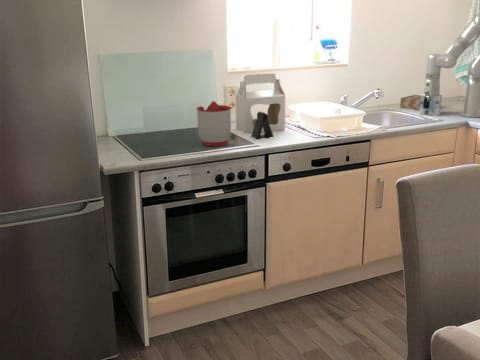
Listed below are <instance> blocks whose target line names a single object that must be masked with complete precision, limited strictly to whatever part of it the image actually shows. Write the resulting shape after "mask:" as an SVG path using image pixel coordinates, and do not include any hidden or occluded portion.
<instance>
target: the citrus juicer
mask: <svg viewBox="0 0 480 360" xmlns="http://www.w3.org/2000/svg"><path fill="white" fill-rule="evenodd" d="M231 110H232V107H231V106H229V105H225V104H224V105H223V104H218V103H217V102H216V101H214V100H213V101H211V102H210V103H209V105H208V106H207V108H206V109H205V107H203V106H201V105H200V106H197V107H196V111H197V112H196V115H197V116H196V117H197V118H196V119H197V131H198V132H197V133H198V136H199V140H200V142H201V145H203V146H205V145H206V146H205V147H209V146H214V147H223V146H226V145H228V142H229V140H230V136H231V126H232V125H231V124H232V121H231V117H232V116H231Z"/></svg>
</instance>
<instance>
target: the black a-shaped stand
mask: <svg viewBox="0 0 480 360" xmlns="http://www.w3.org/2000/svg"><path fill="white" fill-rule="evenodd" d="M256 119H257V120H256V123H255V126H254V129H253V133H251V137H252V138H253V137H254V139H255V138H256V140H262V139H261V138H265V139H271V138H270V137H273V138H274V135H273V131H271V128H270V125H269V122H268V113H265V112H262V111H258V112H257V113H256ZM262 127H263V129H264V132H263V133H264V134H261V133H262V132H261V131H262Z"/></svg>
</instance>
